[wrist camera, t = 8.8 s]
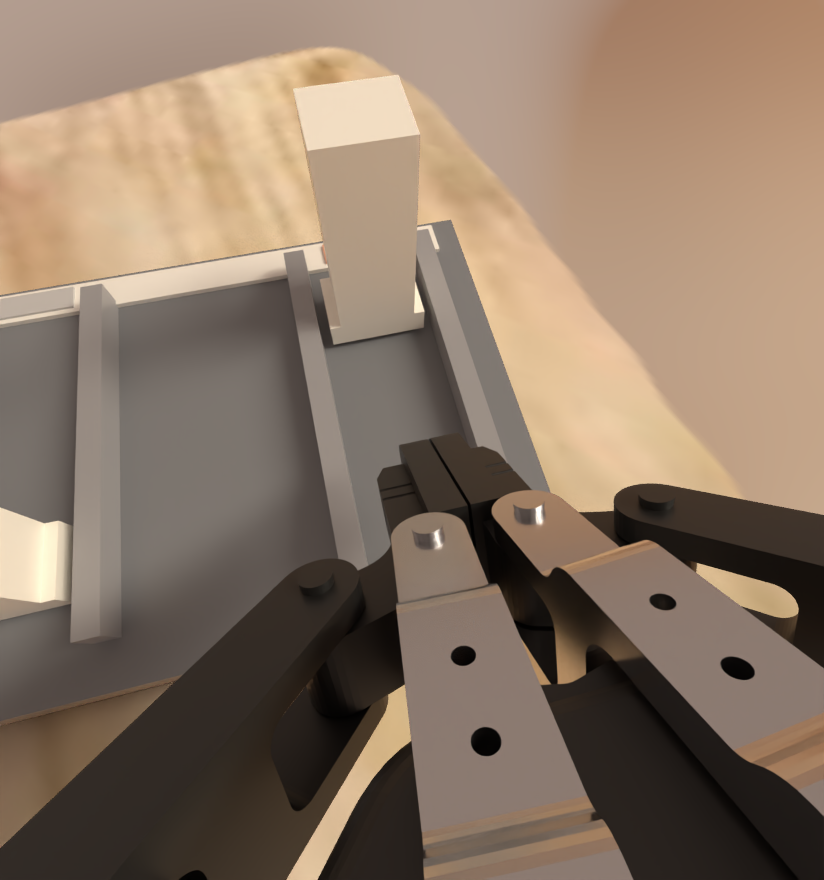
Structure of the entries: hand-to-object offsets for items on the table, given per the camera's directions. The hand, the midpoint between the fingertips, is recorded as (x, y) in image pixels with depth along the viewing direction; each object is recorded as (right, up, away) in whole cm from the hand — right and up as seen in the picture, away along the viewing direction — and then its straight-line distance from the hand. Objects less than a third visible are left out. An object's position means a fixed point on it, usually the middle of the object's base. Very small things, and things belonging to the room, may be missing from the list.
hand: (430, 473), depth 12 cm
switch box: (-8, 0, +8) cm, 11 cm away
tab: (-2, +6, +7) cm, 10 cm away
